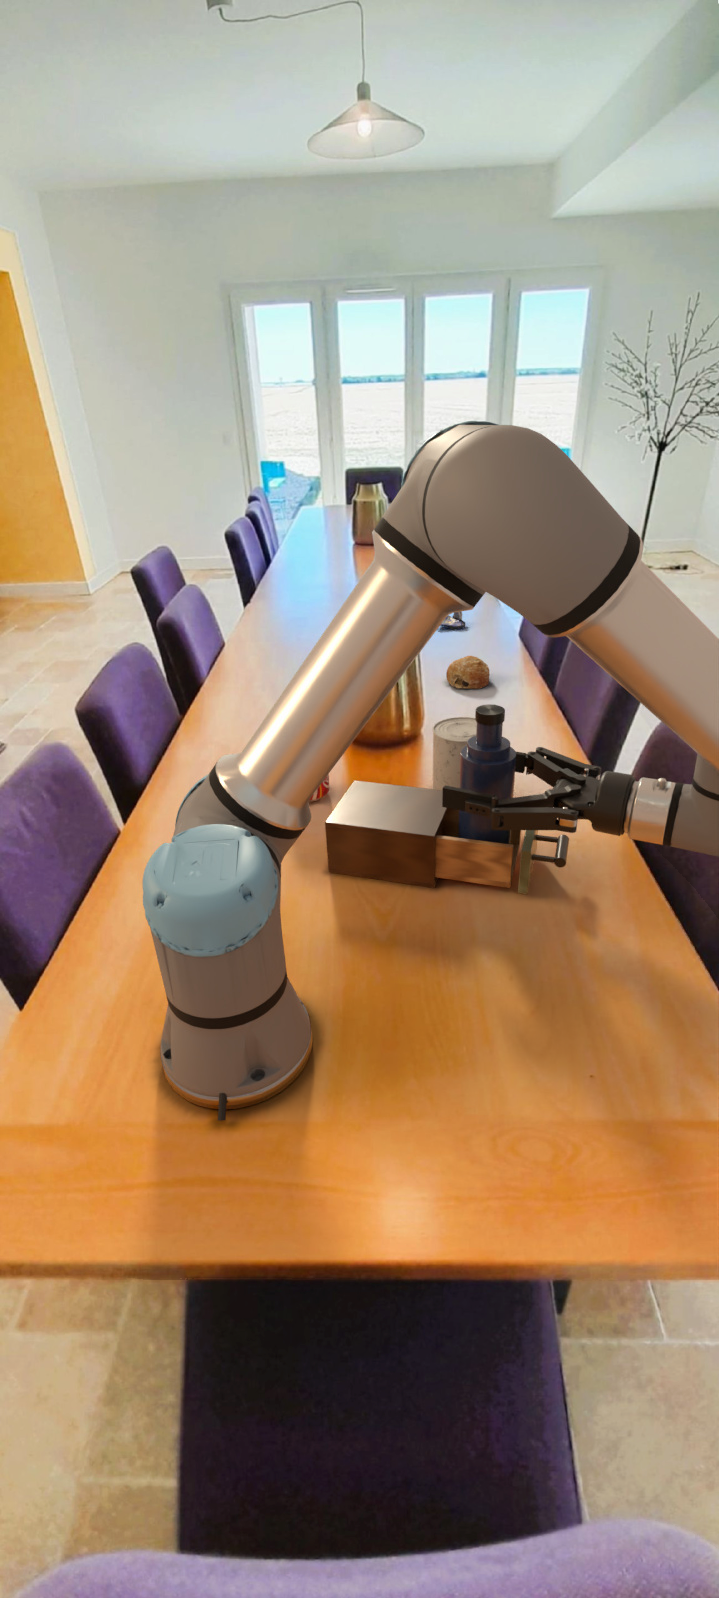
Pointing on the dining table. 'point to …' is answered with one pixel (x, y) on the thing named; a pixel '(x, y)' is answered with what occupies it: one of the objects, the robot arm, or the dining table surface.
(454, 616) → the snack package
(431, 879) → the bronze metal block
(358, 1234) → the dining table surface
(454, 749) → the white tin can
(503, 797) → the bottle
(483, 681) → the bread roll
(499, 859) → the drawer
